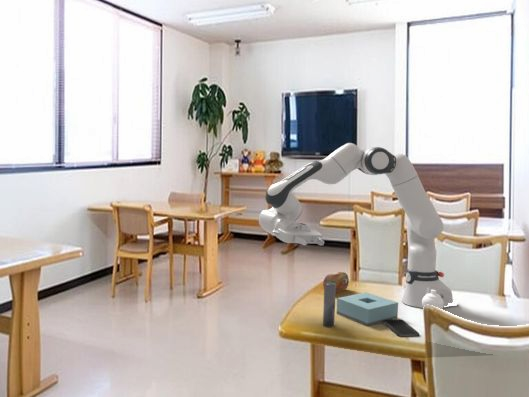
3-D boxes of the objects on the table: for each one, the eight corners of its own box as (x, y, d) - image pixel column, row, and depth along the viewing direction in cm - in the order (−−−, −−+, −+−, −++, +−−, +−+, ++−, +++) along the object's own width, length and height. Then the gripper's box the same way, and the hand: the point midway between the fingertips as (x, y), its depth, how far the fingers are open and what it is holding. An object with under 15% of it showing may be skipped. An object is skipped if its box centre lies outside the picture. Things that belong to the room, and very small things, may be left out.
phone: (398, 334, 168) (381, 319, 183) (398, 338, 168) (381, 322, 183) (420, 334, 169) (402, 319, 184) (420, 337, 169) (402, 322, 184)
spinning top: (417, 321, 184) (419, 289, 183) (426, 317, 190) (428, 286, 189) (437, 326, 179) (439, 294, 178) (446, 322, 185) (448, 290, 184)
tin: (327, 295, 216) (327, 276, 215) (321, 293, 218) (322, 274, 217) (348, 289, 226) (349, 271, 225) (343, 288, 228) (344, 270, 227)
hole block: (365, 306, 200) (366, 292, 200) (397, 318, 188) (398, 302, 187) (336, 313, 191) (337, 298, 191) (367, 325, 178) (368, 309, 178)
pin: (331, 322, 180) (333, 282, 179) (335, 326, 177) (337, 285, 175) (321, 323, 180) (322, 282, 178) (325, 327, 176) (326, 285, 174)
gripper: (272, 222, 188) (297, 234, 178) (308, 224, 201) (334, 236, 192) (268, 238, 189) (292, 251, 179) (304, 239, 202) (329, 251, 193)
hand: (314, 243), depth 185 cm, fingers open, 8 cm apart
